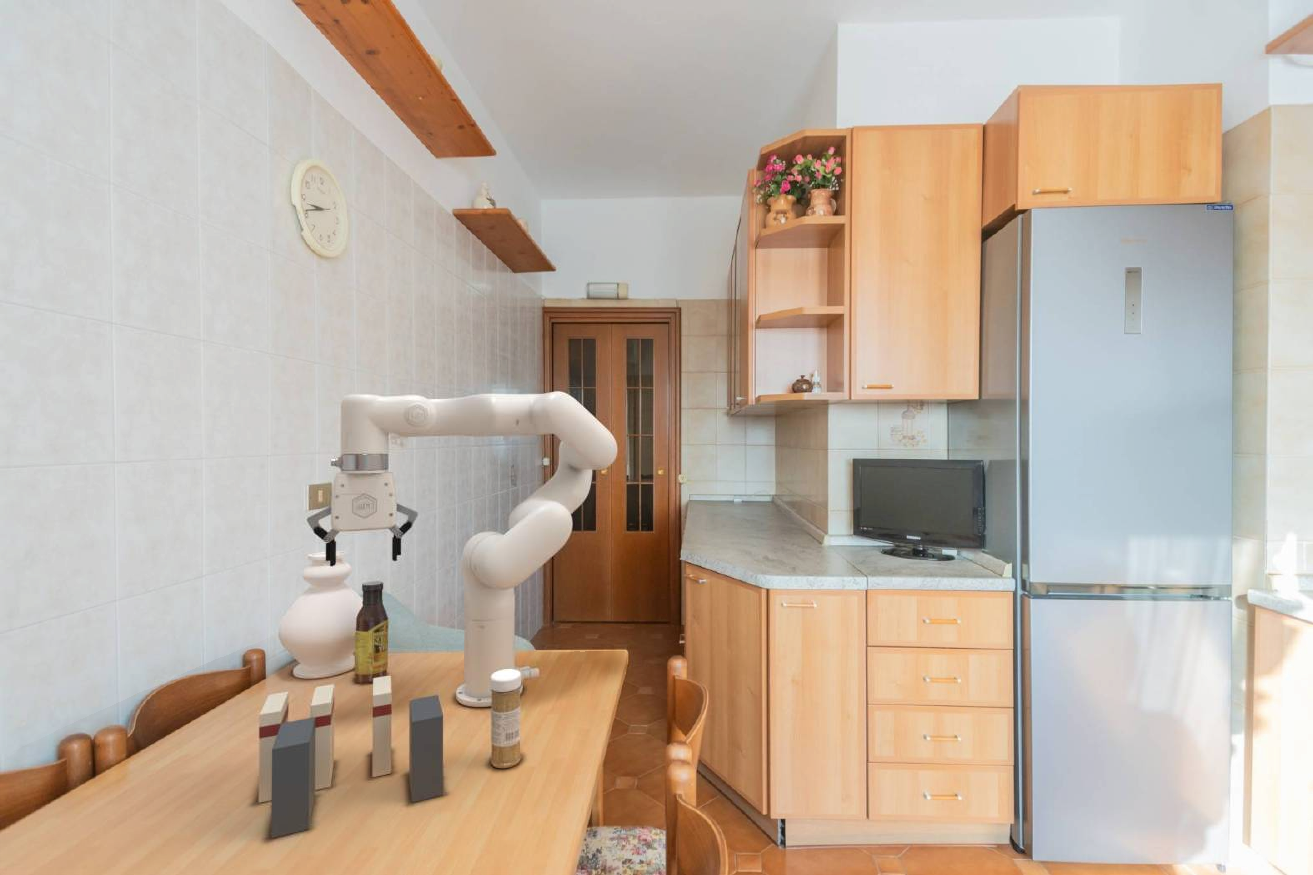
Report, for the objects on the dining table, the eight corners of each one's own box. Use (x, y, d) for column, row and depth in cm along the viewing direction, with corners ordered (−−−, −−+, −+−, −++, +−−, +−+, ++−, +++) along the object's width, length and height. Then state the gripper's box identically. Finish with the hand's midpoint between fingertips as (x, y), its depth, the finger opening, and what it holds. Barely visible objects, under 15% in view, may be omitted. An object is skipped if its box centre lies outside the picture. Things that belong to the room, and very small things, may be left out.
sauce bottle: (378, 684, 116) (378, 586, 117) (348, 684, 116) (348, 586, 117) (393, 671, 123) (394, 579, 123) (365, 671, 123) (365, 579, 123)
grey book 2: (438, 767, 86) (438, 694, 86) (443, 795, 79) (443, 715, 79) (409, 774, 84) (409, 699, 84) (411, 803, 77) (411, 721, 77)
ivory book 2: (334, 762, 87) (334, 683, 88) (330, 786, 81) (330, 701, 81) (315, 766, 86) (315, 686, 86) (309, 791, 80) (310, 705, 80)
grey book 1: (314, 796, 79) (315, 716, 79) (308, 829, 72) (309, 741, 72) (280, 804, 77) (281, 722, 77) (271, 838, 70) (271, 749, 70)
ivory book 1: (288, 772, 85) (288, 691, 85) (280, 798, 78) (281, 710, 79) (267, 776, 84) (268, 694, 84) (258, 803, 77) (259, 714, 78)
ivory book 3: (390, 750, 91) (390, 674, 91) (391, 773, 84) (391, 691, 84) (372, 754, 90) (373, 677, 90) (372, 777, 83) (372, 695, 83)
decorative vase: (290, 658, 131) (291, 549, 131) (375, 648, 137) (376, 544, 137) (267, 689, 114) (268, 564, 115) (366, 676, 120) (367, 557, 121)
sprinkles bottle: (517, 750, 90) (517, 665, 91) (523, 765, 86) (524, 676, 87) (487, 757, 88) (488, 670, 89) (493, 772, 84) (493, 681, 85)
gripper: (305, 466, 93) (304, 571, 93) (419, 464, 101) (419, 561, 100) (309, 465, 100) (309, 563, 99) (416, 463, 107) (416, 554, 107)
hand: (364, 562), depth 100 cm, fingers open, 9 cm apart
